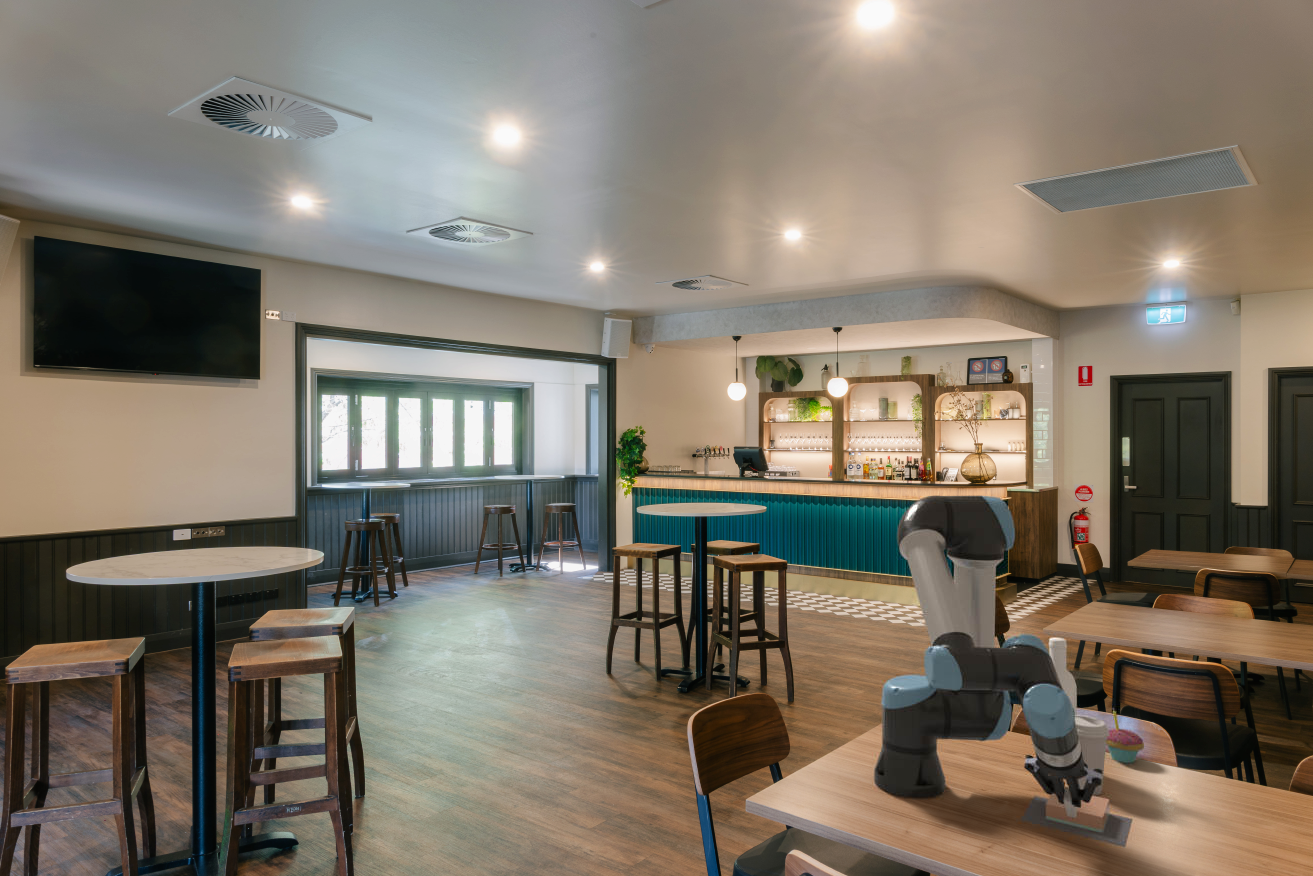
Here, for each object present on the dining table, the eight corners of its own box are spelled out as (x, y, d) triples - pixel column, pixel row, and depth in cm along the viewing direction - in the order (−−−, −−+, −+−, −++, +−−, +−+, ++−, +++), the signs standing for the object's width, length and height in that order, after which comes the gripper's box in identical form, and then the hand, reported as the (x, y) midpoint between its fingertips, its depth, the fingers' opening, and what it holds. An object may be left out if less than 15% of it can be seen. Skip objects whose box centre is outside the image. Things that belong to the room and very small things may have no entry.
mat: (1020, 822, 157) (1020, 819, 157) (1034, 798, 168) (1034, 795, 168) (1124, 849, 147) (1124, 846, 147) (1132, 821, 158) (1132, 818, 158)
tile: (1045, 803, 158) (1054, 786, 166) (1045, 818, 158) (1054, 801, 166) (1102, 817, 152) (1109, 799, 160) (1102, 833, 152) (1109, 814, 160)
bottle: (1078, 763, 188) (1077, 637, 188) (1076, 775, 181) (1075, 644, 182) (1041, 757, 192) (1040, 633, 193) (1038, 767, 185) (1037, 640, 186)
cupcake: (1101, 760, 190) (1100, 710, 190) (1104, 750, 197) (1104, 702, 197) (1143, 769, 185) (1142, 717, 185) (1145, 757, 192) (1144, 708, 192)
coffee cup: (1116, 800, 168) (1116, 729, 168) (1068, 796, 170) (1067, 726, 170) (1100, 782, 177) (1100, 715, 178) (1055, 778, 179) (1054, 712, 179)
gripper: (1014, 759, 141) (1033, 819, 154) (1097, 777, 133) (1109, 838, 146) (1020, 722, 145) (1038, 783, 158) (1101, 736, 138) (1112, 800, 151)
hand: (1072, 810), depth 152 cm, fingers closed
